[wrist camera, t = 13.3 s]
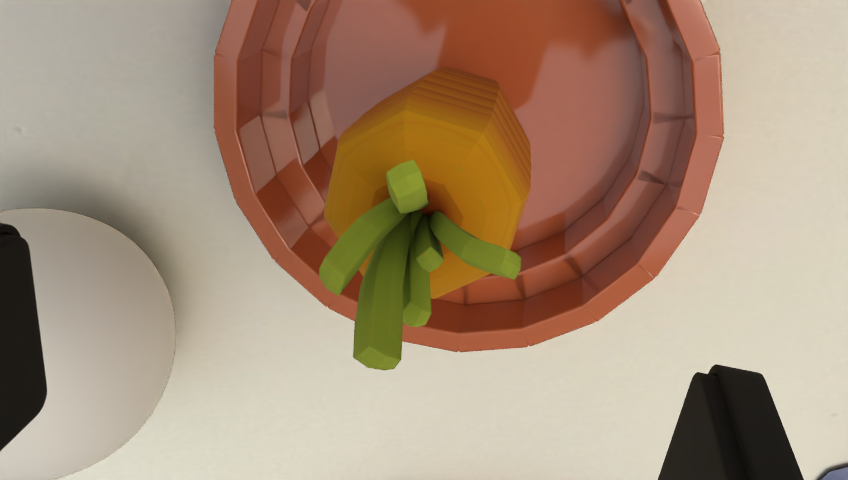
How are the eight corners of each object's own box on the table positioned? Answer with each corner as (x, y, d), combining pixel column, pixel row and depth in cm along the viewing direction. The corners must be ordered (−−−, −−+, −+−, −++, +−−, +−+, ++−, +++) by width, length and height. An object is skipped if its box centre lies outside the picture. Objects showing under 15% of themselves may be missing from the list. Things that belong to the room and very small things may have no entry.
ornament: (26, 367, 37) (-198, 561, 26) (-23, 167, 33) (-315, 298, 22) (226, 389, 35) (76, 604, 24) (201, 181, 31) (6, 330, 20)
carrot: (459, -2, 26) (341, 103, 12) (571, 89, 26) (579, 287, 13) (377, 110, 28) (198, 307, 14) (482, 193, 28) (408, 457, 15)
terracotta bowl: (276, -171, 25) (213, -187, 21) (755, -109, 24) (799, -111, 19) (262, 247, 32) (212, 304, 27) (635, 318, 30) (648, 390, 26)
